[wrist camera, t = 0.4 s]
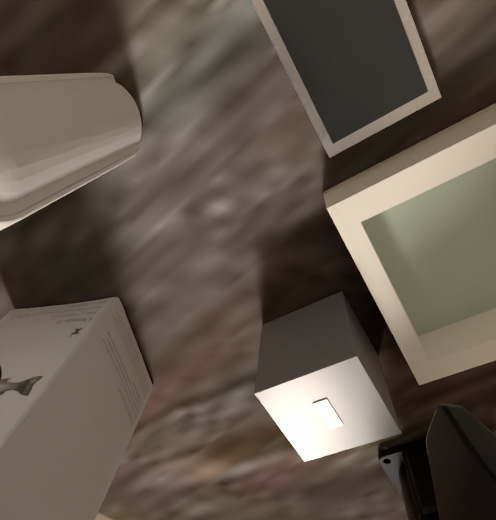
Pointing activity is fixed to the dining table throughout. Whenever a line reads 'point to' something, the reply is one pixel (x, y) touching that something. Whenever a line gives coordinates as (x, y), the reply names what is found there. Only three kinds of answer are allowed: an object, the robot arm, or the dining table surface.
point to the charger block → (324, 380)
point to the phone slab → (350, 64)
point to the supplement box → (66, 407)
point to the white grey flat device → (430, 244)
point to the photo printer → (60, 137)
